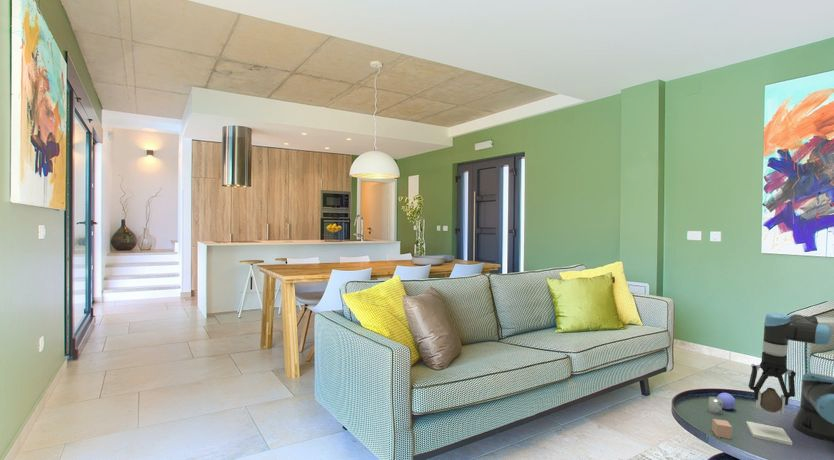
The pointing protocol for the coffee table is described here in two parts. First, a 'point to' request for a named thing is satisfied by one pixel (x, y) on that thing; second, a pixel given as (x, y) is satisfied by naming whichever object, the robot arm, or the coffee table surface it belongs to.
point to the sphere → (727, 400)
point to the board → (768, 433)
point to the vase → (770, 400)
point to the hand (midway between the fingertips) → (769, 409)
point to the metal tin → (715, 405)
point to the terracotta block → (722, 428)
